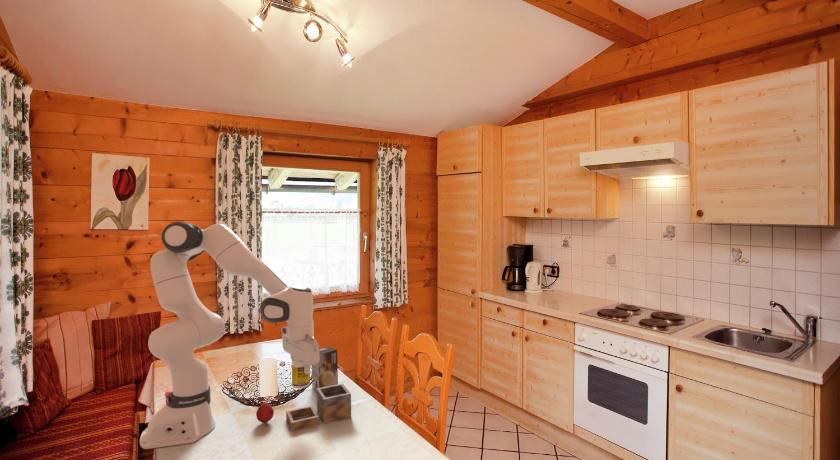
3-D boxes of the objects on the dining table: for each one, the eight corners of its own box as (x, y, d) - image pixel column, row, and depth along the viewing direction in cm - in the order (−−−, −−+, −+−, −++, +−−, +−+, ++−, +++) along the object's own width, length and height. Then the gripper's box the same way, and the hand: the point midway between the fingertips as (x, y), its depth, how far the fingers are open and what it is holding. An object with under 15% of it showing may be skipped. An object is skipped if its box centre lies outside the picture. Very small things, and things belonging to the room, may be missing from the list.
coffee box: (330, 381, 193) (330, 345, 191) (338, 386, 188) (338, 349, 187) (311, 387, 187) (310, 350, 185) (318, 392, 182) (318, 354, 181)
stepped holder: (291, 431, 152) (291, 406, 151) (286, 418, 160) (285, 394, 160) (351, 417, 161) (350, 393, 161) (342, 406, 170) (342, 383, 170)
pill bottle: (297, 390, 153) (297, 359, 152) (288, 385, 157) (288, 354, 156) (313, 385, 157) (313, 355, 156) (304, 380, 162) (304, 350, 161)
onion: (257, 429, 153) (257, 406, 153) (255, 421, 158) (254, 400, 158) (275, 425, 156) (274, 403, 155) (272, 417, 161) (271, 396, 160)
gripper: (324, 336, 150) (324, 376, 151) (295, 323, 165) (295, 359, 166) (307, 340, 146) (307, 381, 147) (279, 326, 161) (279, 363, 162)
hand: (300, 369), depth 157 cm, fingers closed on pill bottle, 6 cm apart
